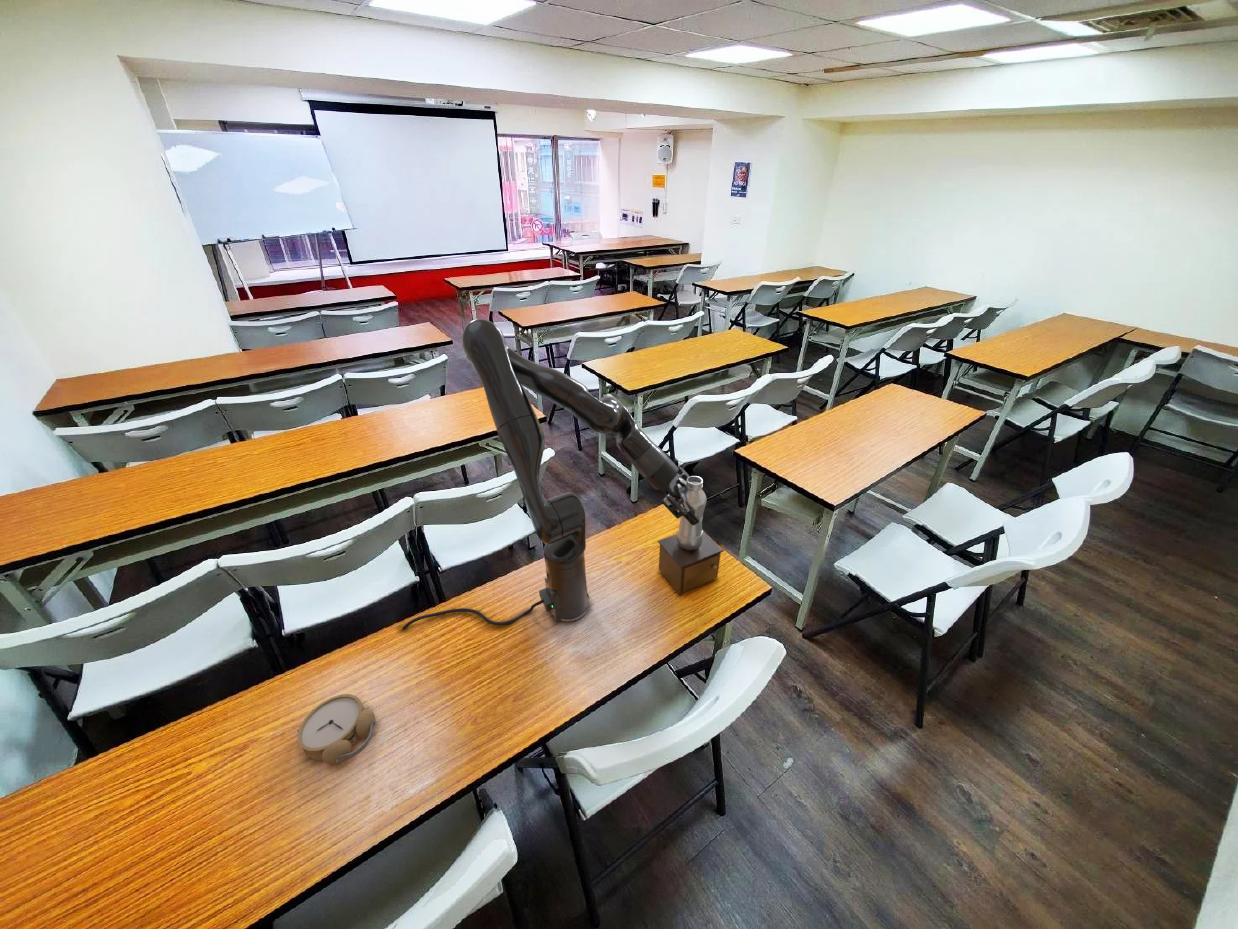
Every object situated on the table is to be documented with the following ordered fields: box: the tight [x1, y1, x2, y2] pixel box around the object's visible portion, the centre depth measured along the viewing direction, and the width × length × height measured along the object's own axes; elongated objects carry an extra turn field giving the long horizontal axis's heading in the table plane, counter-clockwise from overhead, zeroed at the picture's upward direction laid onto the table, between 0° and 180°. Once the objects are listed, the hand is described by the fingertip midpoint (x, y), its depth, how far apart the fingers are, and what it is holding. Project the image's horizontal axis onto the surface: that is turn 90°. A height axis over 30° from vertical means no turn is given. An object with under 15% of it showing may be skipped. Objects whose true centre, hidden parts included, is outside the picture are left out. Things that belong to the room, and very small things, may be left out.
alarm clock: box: [296, 693, 377, 766], centre depth 90 cm, size 11×5×15 cm
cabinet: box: [657, 529, 724, 596], centre depth 122 cm, size 13×12×11 cm
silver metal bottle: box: [676, 475, 708, 550], centre depth 115 cm, size 6×7×20 cm
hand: (699, 513), depth 114 cm, fingers open, 7 cm apart
